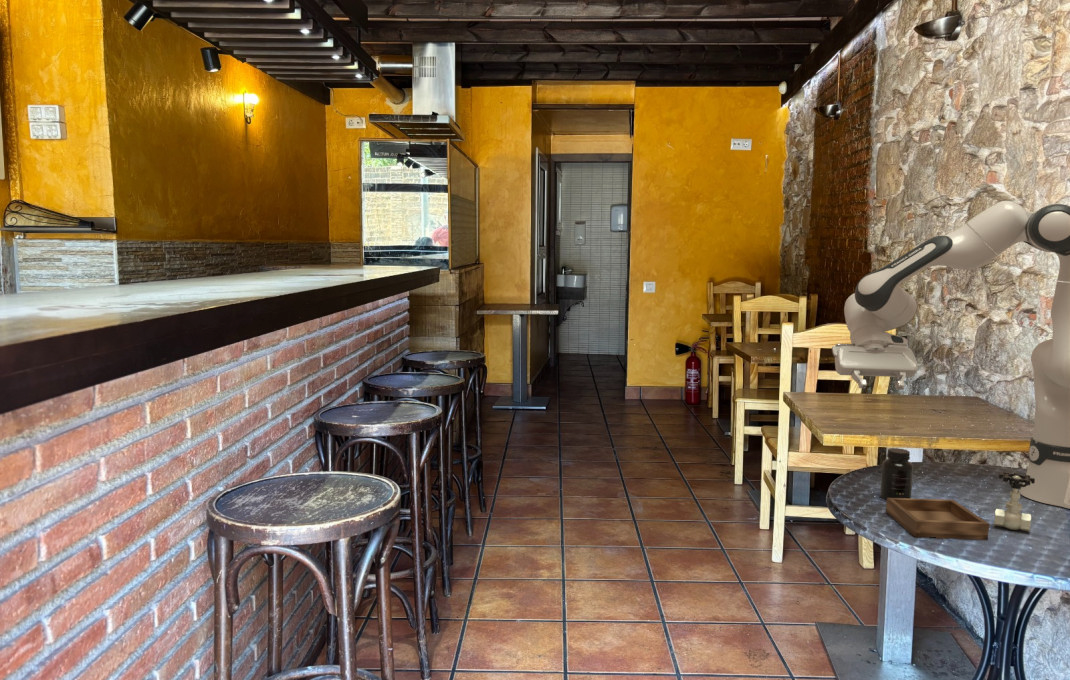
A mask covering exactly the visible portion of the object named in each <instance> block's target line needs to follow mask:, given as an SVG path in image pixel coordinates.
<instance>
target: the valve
mask: <svg viewBox="0 0 1070 680" xmlns="http://www.w3.org/2000/svg"><path fill="white" fill-rule="evenodd" d="M998 479H1000V480H1001V479H1002V481H1003V482H1005V483H1008V484H1009V485H1008V486H1010V488H1012V490H1011V491H1009V498H1010V499H1009V500H1008V501H1006V502H1005V508H1006V510H1004V509H1001V508H996V509H995V511H994V512H995V513H994V522H993V525H994V526H996V527H1001V528H1002V527H1004V528H1006V529H1008V530H1011V531H1017V530H1020V531H1023V532H1024V531H1025V532H1030V531H1031V527H1032V526H1031V523H1032V515H1031V514H1029V513H1023V512H1022V513H1021V511H1022V510H1023V504H1022V503H1020V501H1019V500H1020V499H1021V494H1020V492H1019V490H1020V489H1021V487H1026V486H1027V485H1030V483H1032V484H1034V483H1035V479H1034V478H1030V475H1026V474H1024V475H1023V474H1021V472H1020V473H1019V472H1017V471H1016V472H1013V473H1010V472H1009V471H1003V473H1002V472H999V473H998ZM1023 483H1025V484H1023Z"/></svg>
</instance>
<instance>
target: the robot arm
mask: <svg viewBox="0 0 1070 680" xmlns="http://www.w3.org/2000/svg"><path fill="white" fill-rule="evenodd" d="M1021 242H1022V243H1025V244H1027V245H1029V246H1031V247H1032V248H1034V249H1037V250H1039V251H1042V252H1045V253H1054V254H1055V255H1056V256H1057V257H1058V260H1059V268H1058V274H1057V275H1058V276H1057V280H1056V284H1055V289H1054V294H1053V298H1052V303H1051V308H1050V317H1051V322H1052V325H1051V326H1052V338H1051V339H1047V340H1044V341H1041V342H1040V343H1038V344H1037V345H1036V346H1035V347H1034V348H1033V350H1032V351H1031V356H1030V361H1031V362H1030V363H1031V366H1032V371H1033V389H1034V398H1035V399H1034V401H1035V410H1034V411H1035V412H1034V422H1033V431H1032V432H1033V433H1032V437H1031V438H1030V441H1029V448H1028V449H1029V450H1028V465H1027V469H1026V474H1025V475H1030V478H1034V479H1035V483H1034V484H1032V483H1030V485H1027V486H1026V487H1021V489H1018V492H1019V493H1020V495H1021V496H1023V497H1025V498H1027V499H1030V500H1032V501H1036V502H1039V503H1043V504H1047V505H1051V506H1056V507H1060V508H1061V507H1062V508H1066V509H1070V205H1067V204H1062V203H1054V204H1048V205H1046V206H1044V207H1041V208H1040V209H1038V210H1036V211H1028V210H1026V209H1025V208H1024V207H1023V206H1022V205H1020V204H1019V203H1017V202H1015V201H1011V200H1002V201H999V202H996V203H994V204H993V205H992V206H990V207H988V208H986V209H984V210H983V211H981V212H979V213H978V214H977V215H975V216H974V217H972V218H971V219H969V220H967V222H966V223H964V224H963V225H962V226H960V227H958V228H957V229H955V230H953V231H951V232H949V233H946V234H944V235H937V236H934V237H932V238H929V239H928V240H926V241H924V242H922V243H920V244H919V245H917V246H915V247H914V248H912V249H910V250H909V251H908V252H906V253H903V255H901V256H899V257H898V258H896V259H894V260H893V261H891V262H889V263H887V264H886V265H884V266H883V267H880V268H879V269H876V270H873V271H872V272H869V273H867V274H866V275H864V276H862V277H861V278H860V280H859V281H858V282H857V285H856V286H855V290H854V293H852V294H851V295H850V296H848V298H846V300H845V302H844V309H843V311H844V319H845V324H846V328H847V330H848V331H849V333H850V335H849V340H850V343H836V344H834V345H832V347H831V352H832V355H833V357H834V366H835V372H836V373H837V374H838V375H839V376H851V379H852V380H853V381H854V382H855V383H856V384H857V385H858V389H866V388H867V387H868V383H867V380H866V379H863V378H862V377H885V378H886V377H888V378H889V377H891V378H893V377H894V378H896V379H897V381H896V383H895V384H894V385H895V389H896V390H899V391H900V390H901V391H903V390H904V389H905V382H904V381H905V379H906V378H913V377H914V376H915V375H916V374H917V372H918V370H919V365H918V362H917V359H916V356H915V354H914V352H913V350H912V349H911V348H910V347H909V346H908V343H909V342H908V339H907V338H905V337H904V336H899V335H896V334H892V333H889V332H888V331H892V330H895V329H898V328H900V327H903V326H905V325H907V324H908V323H910V322H912V320H913V319H914V317H916V315H917V311H918V302H917V300H916V299H915V298H914V297H913V296H912V295H911V294H910V293H909V292H907V291H906V290H905V289H904V288H902V286H901V285H902V284H903V283H905V282H907V281H909V279H911V278H913V277H914V276H916V275H918V274H920V273H921V272H923V271H924V270H926V269H929V268H931V267H936V266H937V267H939V266H945V267H950V268H954V269H956V270H961V271H973V270H977V269H980V268H981V267H983V266H985V265H988V264H989V263H990V262H992V261H993V260H994V259H995V258H997V257H998V256H1000V255H1001V254H1003V252H1005V251H1006V250H1007V249H1008V248H1011V247H1012V246H1014V245H1015V244H1018V243H1021ZM1022 484H1025V483H1022Z"/></svg>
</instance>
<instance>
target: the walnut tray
mask: <svg viewBox="0 0 1070 680" xmlns="http://www.w3.org/2000/svg"><path fill="white" fill-rule="evenodd" d="M885 513H886V514H887V513H888V514H889V515H890V516H891V517H890V516H889V515H888V514H887V515H888V516H889V517H890V518H891V519H893V518H894V519H895V520H896V521H897V522H898V523H897V522H896V521H895V520H894V519H893V520H894V521H895V522H896V523H897V524H899V523H900V524H901V525H902V526H903V527H904V528H903V527H902V526H901V525H900V524H899V525H900V526H901V527H902V528H903V529H904V530H906V531H907V530H908V531H909V532H910V533H911V534H910V533H909V532H908V531H907V532H908V533H909V534H910V535H912V536H913V535H914V536H915V537H914V536H913V537H914V538H918V537H936V538H935V539H948V538H956V539H957V540H977V541H978V540H981V541H983V540H985V541H988V540H989V532H990V531H989V530H990V523H989V522H988V521H986V520H984V519H983V518H981V517H980V516H978V515H977V514H975V513H973V512H972V511H971V510H970V509H968V508H966V507H965V506H963V505H962V504H960V503H959V502H957V501H956V500H955V499H941V498H940V499H934V498H911V499H909V498H887V500H886V506H885ZM956 539H955V540H956Z"/></svg>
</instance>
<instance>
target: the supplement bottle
mask: <svg viewBox="0 0 1070 680" xmlns="http://www.w3.org/2000/svg"><path fill="white" fill-rule="evenodd" d="M910 455H911V453H910V451H909V450H907V449H904V448H899V447H898V448H897V447H896V448H895V447H890V448H888V449H887V454H886V457H887V458H886V459H885V460H883V461H882V464H881V475H880V477H881V478H880V490H879V491H880V492H879V493H880V494H879V495H880V497H881V498H882V499H884V500H886V501H887V498H909V499H912V491H913V489H912V486H913V477H914V476H913V473H914V465H913V463H912V462H911V461H909V460H910V459H911V457H910Z"/></svg>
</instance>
